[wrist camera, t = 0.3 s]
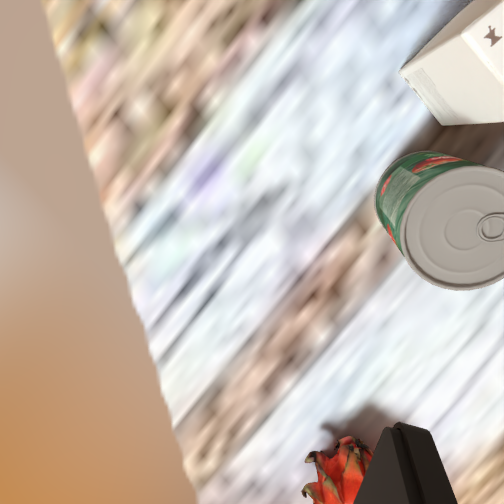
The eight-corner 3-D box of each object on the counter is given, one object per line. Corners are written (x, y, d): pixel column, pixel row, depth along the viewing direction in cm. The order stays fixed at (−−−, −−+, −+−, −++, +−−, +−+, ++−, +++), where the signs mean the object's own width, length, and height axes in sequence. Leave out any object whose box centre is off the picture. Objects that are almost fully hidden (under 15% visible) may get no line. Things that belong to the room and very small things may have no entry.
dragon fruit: (326, 497, 50) (344, 402, 47) (396, 545, 44) (420, 441, 42) (280, 536, 43) (299, 429, 41) (356, 599, 38) (381, 479, 36)
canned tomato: (375, 245, 38) (401, 295, 28) (372, 156, 36) (398, 173, 26) (470, 238, 37) (533, 286, 27) (472, 144, 35) (543, 158, 24)
